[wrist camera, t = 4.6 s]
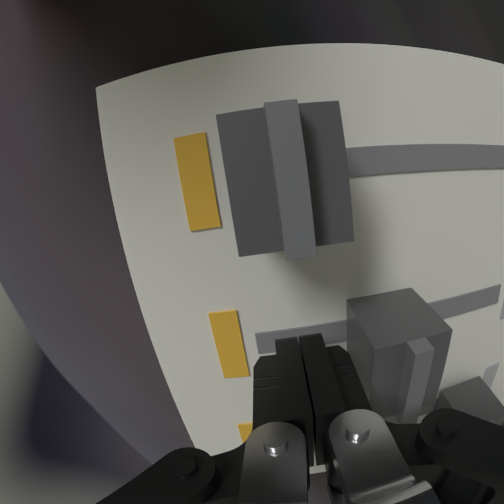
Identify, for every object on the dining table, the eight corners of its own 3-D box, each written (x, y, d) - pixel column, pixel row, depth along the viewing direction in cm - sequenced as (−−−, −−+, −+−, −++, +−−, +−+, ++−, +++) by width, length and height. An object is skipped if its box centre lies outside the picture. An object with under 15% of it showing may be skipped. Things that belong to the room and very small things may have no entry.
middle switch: (411, 287, 10) (462, 340, 7) (404, 354, 11) (441, 413, 8) (346, 299, 10) (381, 363, 7) (346, 367, 11) (371, 435, 8)
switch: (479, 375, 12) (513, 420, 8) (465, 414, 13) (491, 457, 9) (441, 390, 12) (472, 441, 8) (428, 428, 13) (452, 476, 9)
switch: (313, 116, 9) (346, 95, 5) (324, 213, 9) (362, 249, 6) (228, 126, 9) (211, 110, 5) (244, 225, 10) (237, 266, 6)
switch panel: (518, 80, 9) (544, 76, 7) (487, 396, 15) (500, 414, 13) (118, 95, 10) (94, 87, 8) (215, 456, 16) (212, 482, 14)
